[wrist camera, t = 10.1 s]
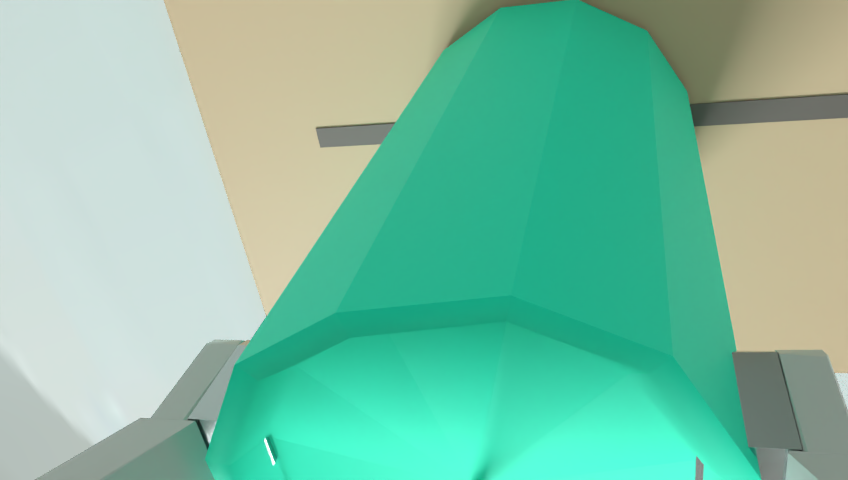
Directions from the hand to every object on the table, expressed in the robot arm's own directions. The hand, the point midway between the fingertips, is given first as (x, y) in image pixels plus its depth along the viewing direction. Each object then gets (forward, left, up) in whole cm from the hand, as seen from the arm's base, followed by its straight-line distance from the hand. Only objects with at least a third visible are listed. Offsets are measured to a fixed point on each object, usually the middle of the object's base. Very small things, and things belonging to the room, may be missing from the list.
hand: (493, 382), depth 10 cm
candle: (0, 0, -9) cm, 9 cm away
